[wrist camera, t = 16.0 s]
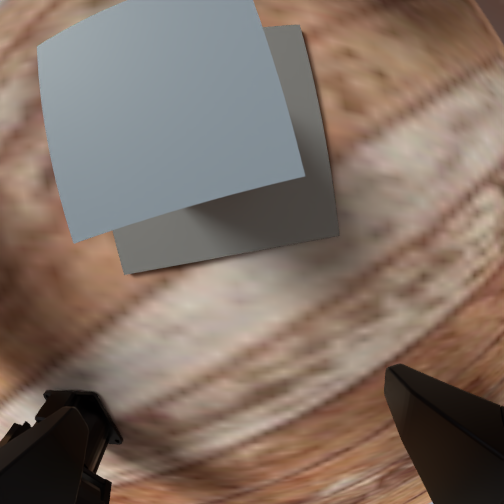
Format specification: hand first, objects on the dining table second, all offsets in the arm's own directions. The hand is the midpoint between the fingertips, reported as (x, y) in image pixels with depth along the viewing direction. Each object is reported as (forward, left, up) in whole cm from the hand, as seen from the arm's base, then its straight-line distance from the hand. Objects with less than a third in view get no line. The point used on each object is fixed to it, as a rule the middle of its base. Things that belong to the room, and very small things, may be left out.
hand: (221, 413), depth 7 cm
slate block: (+8, 0, -4) cm, 9 cm away
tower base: (+8, 0, -13) cm, 15 cm away
